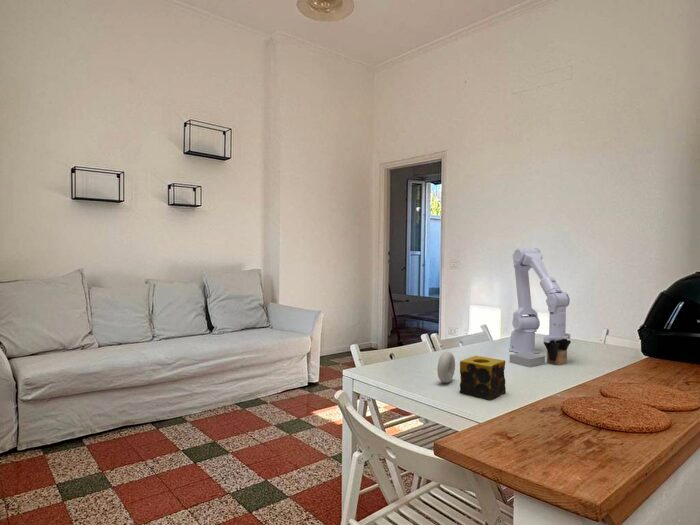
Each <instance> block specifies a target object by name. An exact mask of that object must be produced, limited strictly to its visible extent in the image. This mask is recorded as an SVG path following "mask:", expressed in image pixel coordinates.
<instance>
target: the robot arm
mask: <svg viewBox="0 0 700 525" xmlns="http://www.w3.org/2000/svg"><path fill="white" fill-rule="evenodd" d="M512 260H513V263H512V264H513V268H514V274H515V275H514V276H515V285H516V286H515V287H516V296H517V298H516V299H517V307H518V308H517V309H516V310H515V311H513V313H512V321H511V322H512V327H513V329H514V330H513V331H511V333H510V335H509V336H510V338H509V340H510V341H509V342H510V343H509V344H510V346H509V348H510V349H508V351H509V352H513V353H520V352H527V353H532V354H539V353H540V351H539V350H535V349H536V333H537V330H539V329H540V325H541V323H540V319H539V316H538V311H537V310H535V309H533V306H532V296H531V285H530V276H529V271H530V270H531V269H533V271H534V272H535V273H536V275H537V277H538V278H539V279H540V281H539V285H540V288H541V289H542V291H543V292H544V294H545V296H546V299H545V303H546V305H547V310H548V313H549V318H548V319H549V320H548V321H549V322H548V323H549V327H548V329H549V330H548V334H547V335H546V336H543V344H544V346H545V348H546V352H547V351H548V355H549V359H550V360H553V361H556V356H557V350H558V349H562V350H567V351H568V348H569V346H570V345H571V333H566V329H567V328H566V326H567V324H566V323H567V322H566V321H567V307H568V306H569V305H570V302H571V301H570V300H571V299H570V296H569V294H568V293H567V292H566V291H564V290H562V289H561V287H560V285H559V284H558V283H557V281H556V279H555V277H553V276H550V274H549V273H548V271H547V269H546V266H545V265H544V262H543V254H542V252H541V249H539V248H537V247H536V248H534V247H533V248H521V247H518V248H516V249H515V250H514V251H513V253H512Z"/></svg>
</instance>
